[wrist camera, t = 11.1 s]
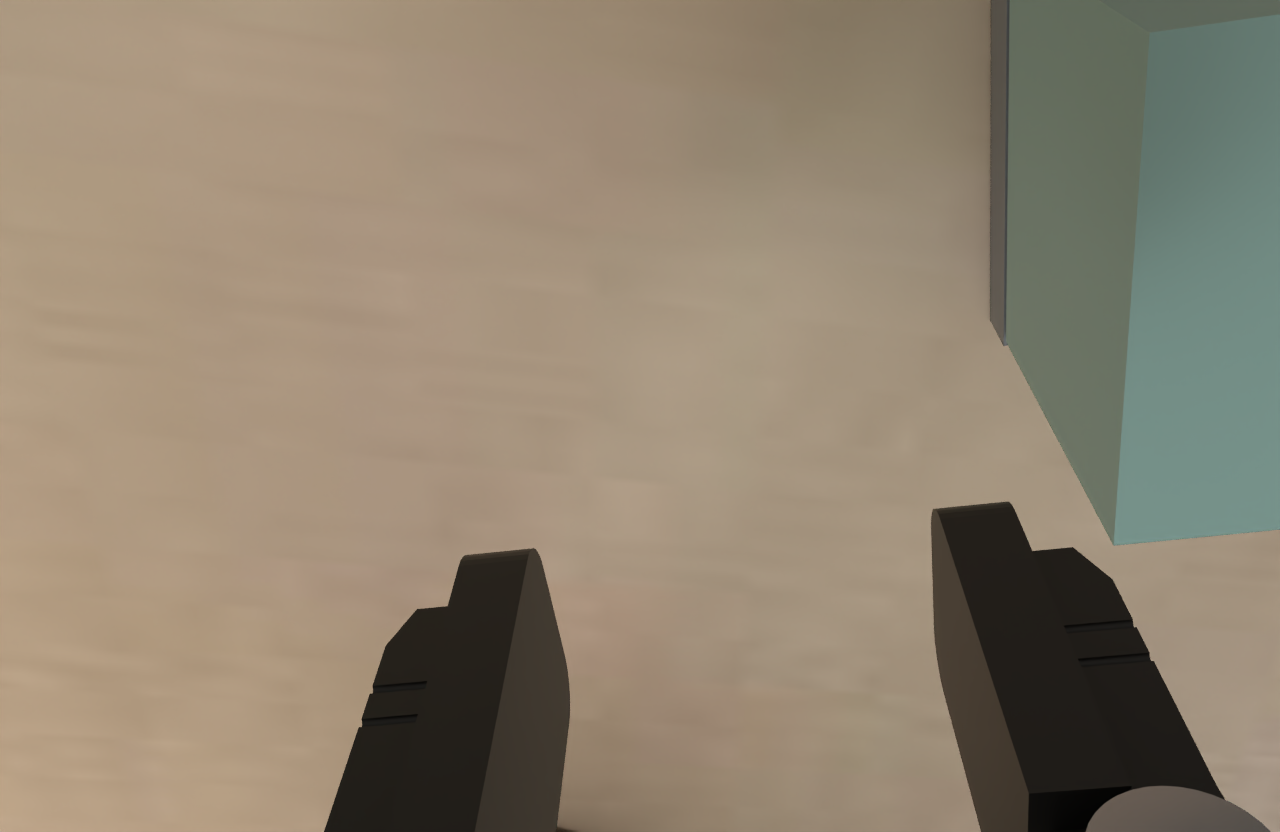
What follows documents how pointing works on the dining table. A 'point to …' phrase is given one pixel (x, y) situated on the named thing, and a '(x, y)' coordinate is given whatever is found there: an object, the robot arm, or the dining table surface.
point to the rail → (999, 164)
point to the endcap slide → (1150, 254)
